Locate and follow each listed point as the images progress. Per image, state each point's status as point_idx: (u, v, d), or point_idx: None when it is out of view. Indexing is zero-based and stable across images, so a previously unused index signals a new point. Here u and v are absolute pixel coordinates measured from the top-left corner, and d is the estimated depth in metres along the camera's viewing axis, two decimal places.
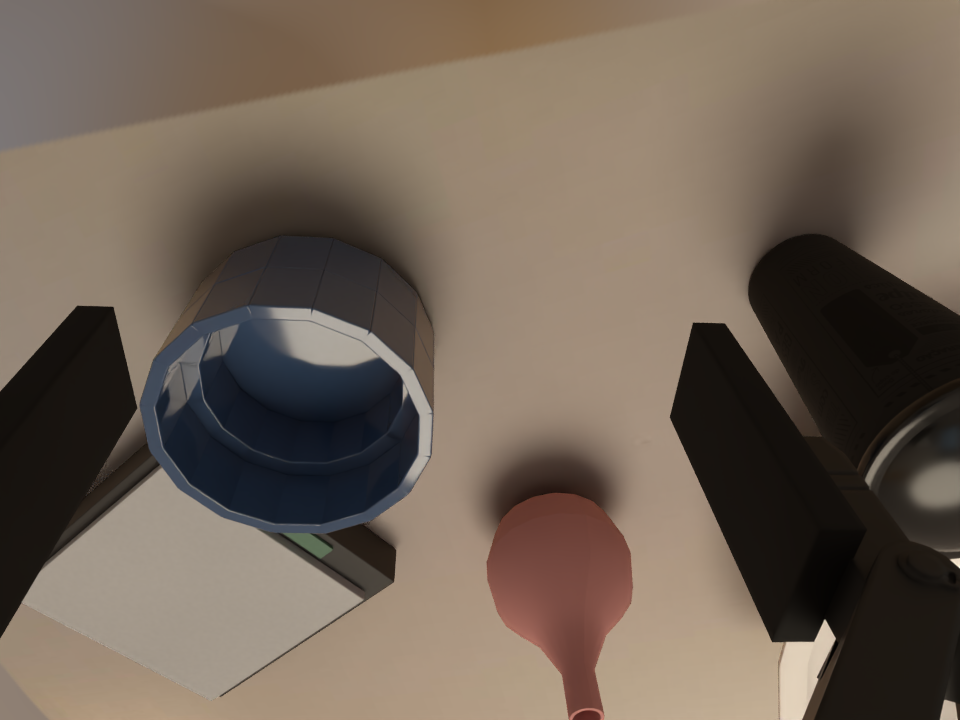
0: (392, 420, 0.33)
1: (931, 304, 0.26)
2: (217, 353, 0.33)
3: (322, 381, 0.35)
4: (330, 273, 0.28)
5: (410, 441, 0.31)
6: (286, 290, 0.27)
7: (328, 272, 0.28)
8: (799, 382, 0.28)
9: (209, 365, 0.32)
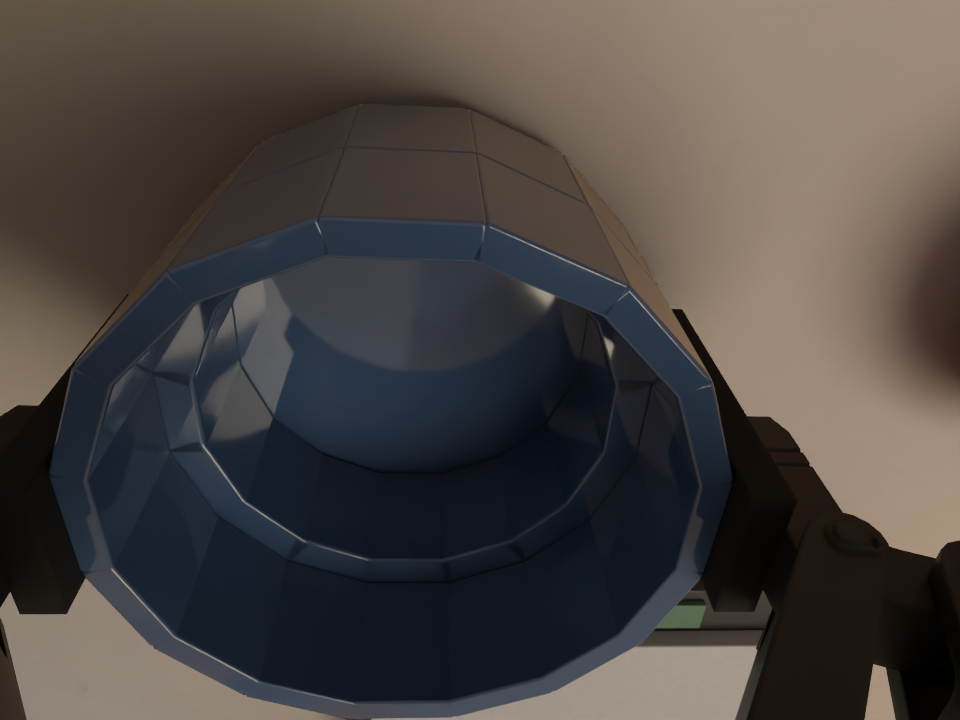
0: (606, 360, 0.15)
1: None
2: (296, 452, 0.19)
3: (473, 378, 0.18)
4: (237, 188, 0.12)
5: (658, 376, 0.13)
6: (145, 282, 0.11)
7: (233, 189, 0.12)
8: None
9: (280, 482, 0.17)
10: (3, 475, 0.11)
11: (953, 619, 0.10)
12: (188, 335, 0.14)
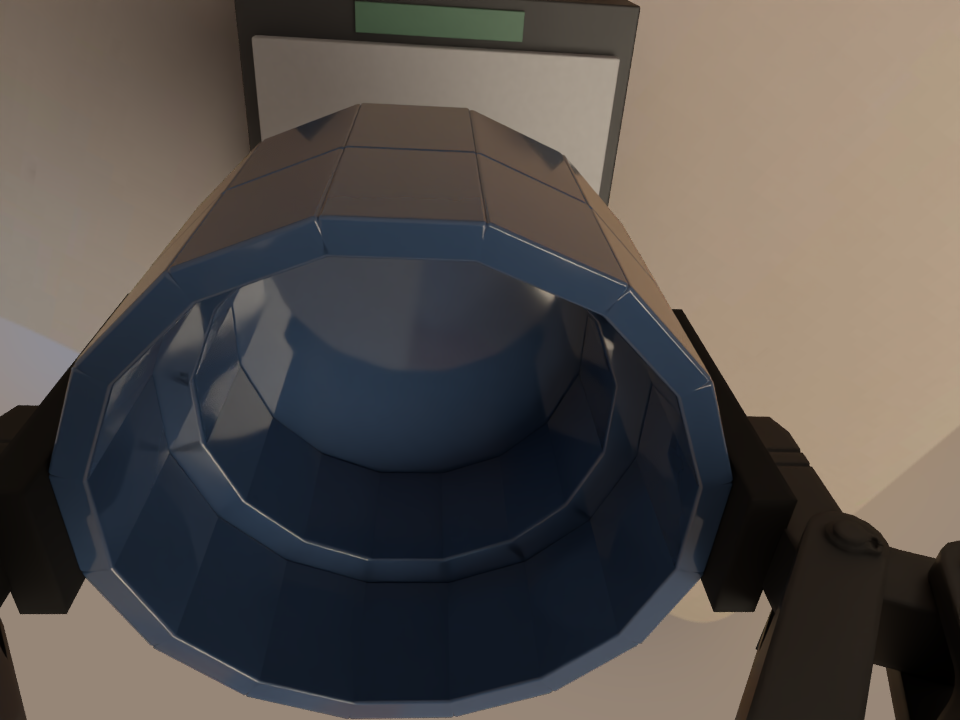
0: (606, 359, 0.15)
1: None
2: (296, 451, 0.19)
3: (473, 378, 0.18)
4: (237, 187, 0.12)
5: (658, 376, 0.13)
6: (145, 281, 0.11)
7: (233, 189, 0.12)
8: None
9: (280, 481, 0.17)
10: (3, 475, 0.11)
11: (953, 619, 0.10)
12: (188, 335, 0.14)
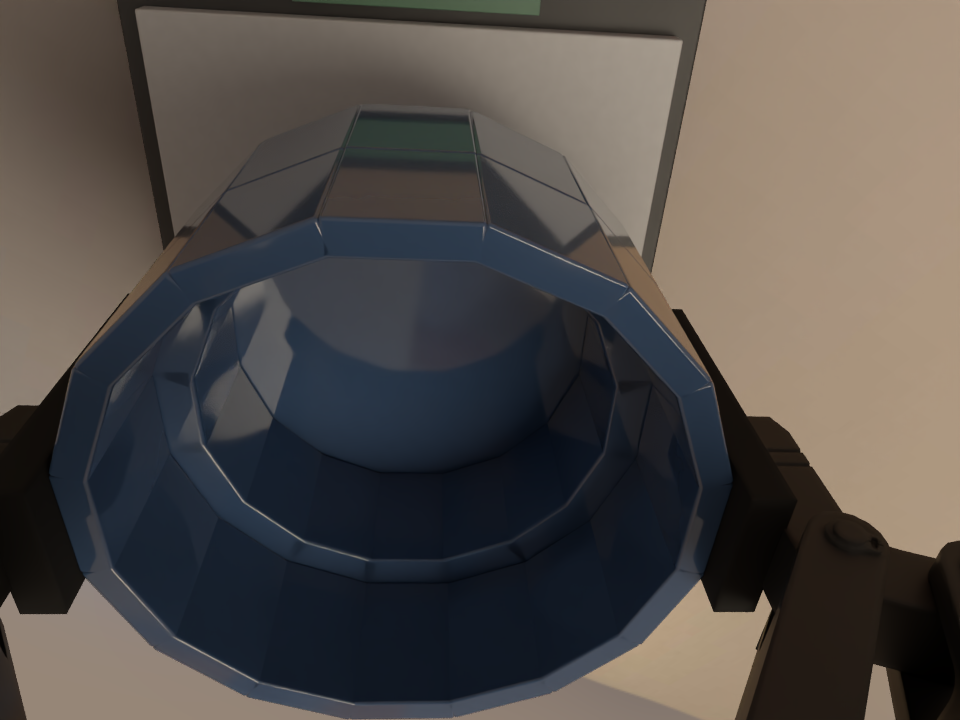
0: (606, 360, 0.15)
1: None
2: (296, 452, 0.19)
3: (473, 378, 0.18)
4: (237, 188, 0.12)
5: (658, 376, 0.13)
6: (145, 282, 0.11)
7: (233, 190, 0.12)
8: None
9: (281, 482, 0.17)
10: (3, 475, 0.11)
11: (952, 619, 0.10)
12: (188, 335, 0.14)
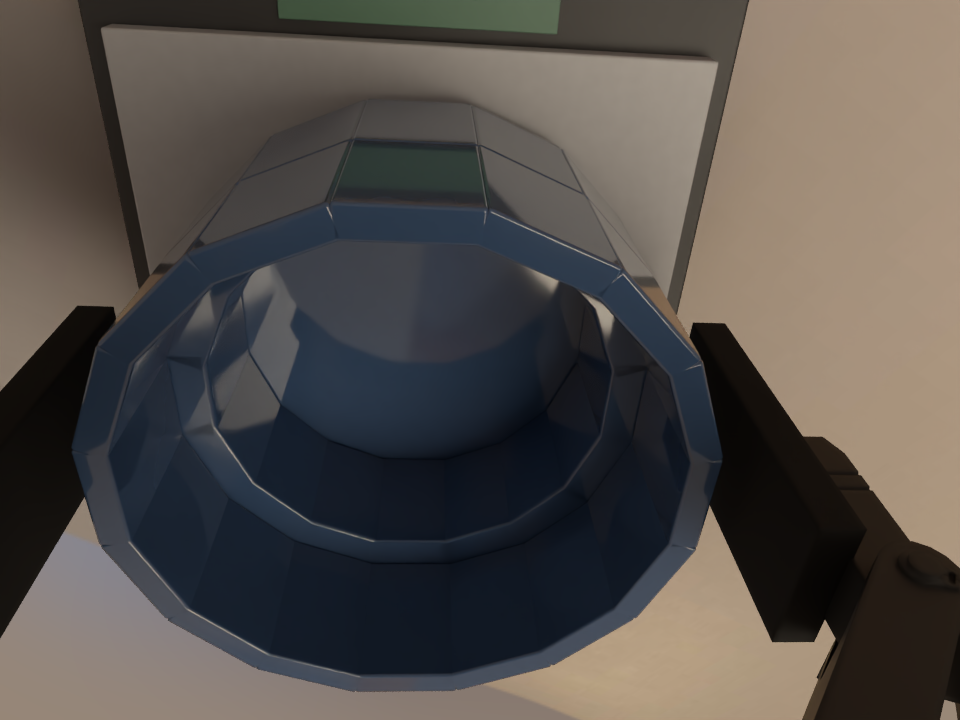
0: (602, 345, 0.15)
1: None
2: (303, 437, 0.19)
3: (475, 366, 0.19)
4: (250, 178, 0.13)
5: (652, 359, 0.14)
6: (164, 266, 0.12)
7: (246, 180, 0.13)
8: None
9: (288, 466, 0.18)
10: None
11: None
12: (201, 320, 0.14)
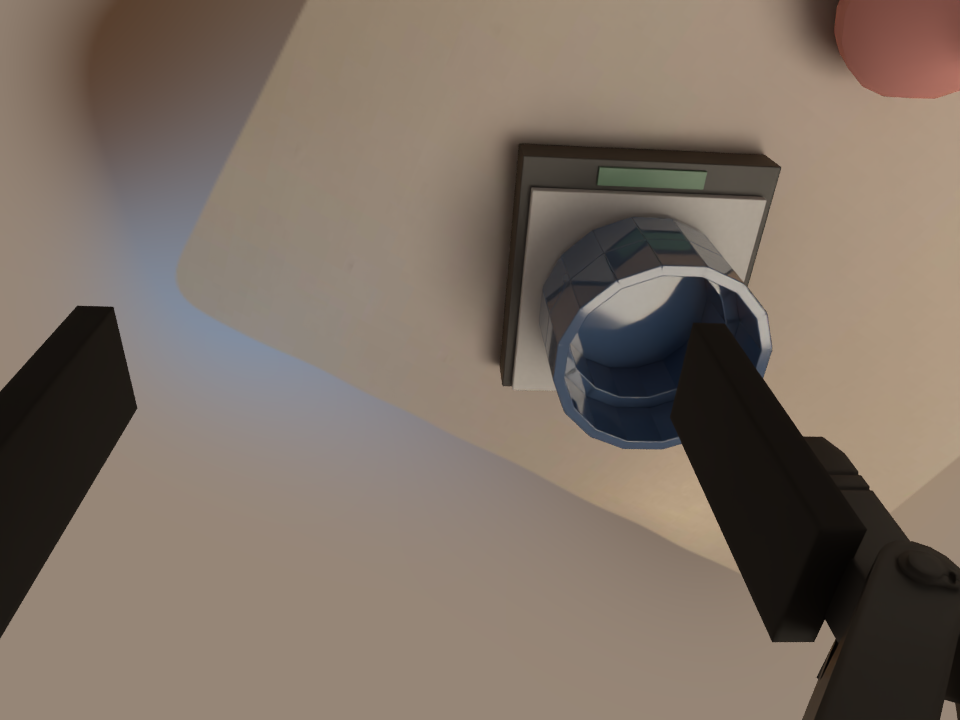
0: (722, 311, 0.40)
1: None
2: (579, 355, 0.44)
3: (656, 323, 0.43)
4: (609, 252, 0.37)
5: (745, 315, 0.38)
6: (593, 283, 0.36)
7: (607, 252, 0.37)
8: None
9: (581, 365, 0.42)
10: None
11: None
12: None
